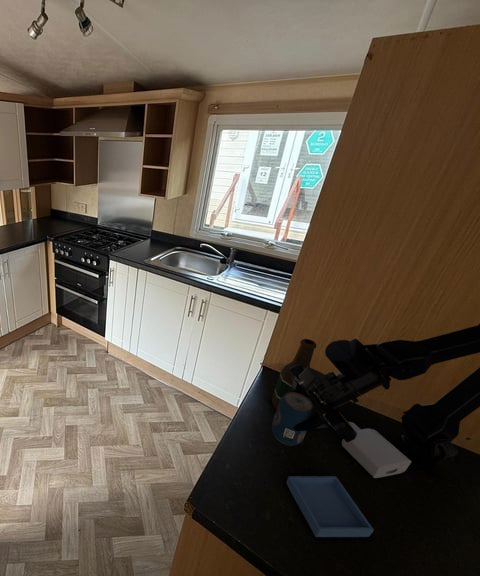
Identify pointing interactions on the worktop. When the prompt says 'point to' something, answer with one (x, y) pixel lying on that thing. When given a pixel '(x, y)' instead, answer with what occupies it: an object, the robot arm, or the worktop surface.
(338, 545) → the worktop surface
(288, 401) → the soda can
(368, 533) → the blue tray
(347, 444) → the charger
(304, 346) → the beer bottle
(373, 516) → the worktop surface
